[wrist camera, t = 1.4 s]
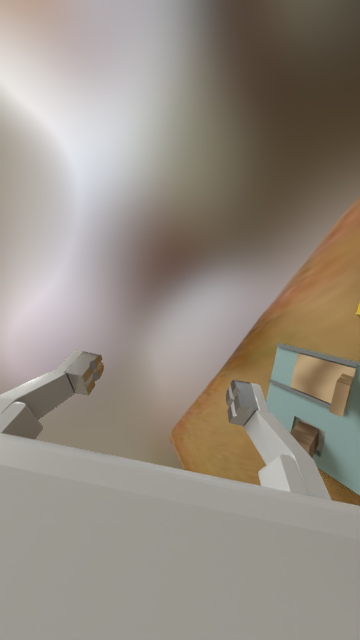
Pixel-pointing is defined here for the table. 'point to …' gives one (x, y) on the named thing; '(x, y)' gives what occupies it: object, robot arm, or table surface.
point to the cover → (324, 381)
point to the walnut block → (306, 437)
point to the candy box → (359, 311)
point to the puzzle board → (319, 416)
